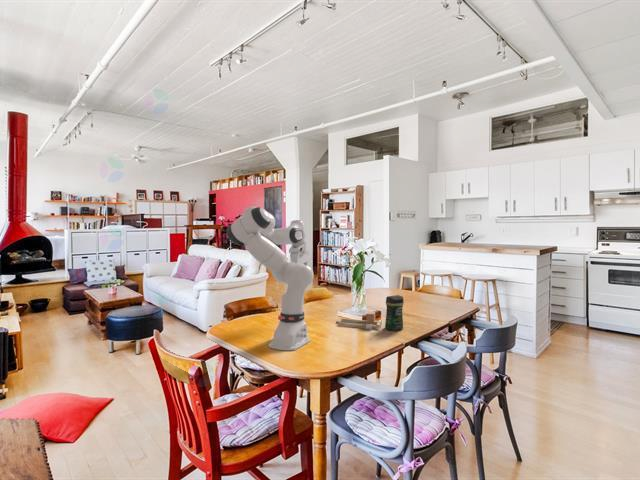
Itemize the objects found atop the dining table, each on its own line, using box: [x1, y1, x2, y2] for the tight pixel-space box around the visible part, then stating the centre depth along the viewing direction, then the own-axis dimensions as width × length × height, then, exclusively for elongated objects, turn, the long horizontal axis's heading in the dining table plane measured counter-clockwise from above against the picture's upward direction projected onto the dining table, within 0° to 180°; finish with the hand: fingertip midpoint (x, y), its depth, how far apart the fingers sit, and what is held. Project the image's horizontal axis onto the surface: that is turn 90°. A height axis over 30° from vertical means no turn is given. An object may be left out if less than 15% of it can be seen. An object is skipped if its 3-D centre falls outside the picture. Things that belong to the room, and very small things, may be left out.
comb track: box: [337, 318, 383, 331], centre depth 204 cm, size 14×24×3 cm, turn 72°
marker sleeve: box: [366, 310, 376, 325], centre depth 202 cm, size 5×4×8 cm
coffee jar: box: [384, 294, 405, 332], centre depth 199 cm, size 10×8×19 cm
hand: (302, 271), depth 212 cm, fingers open, 8 cm apart
